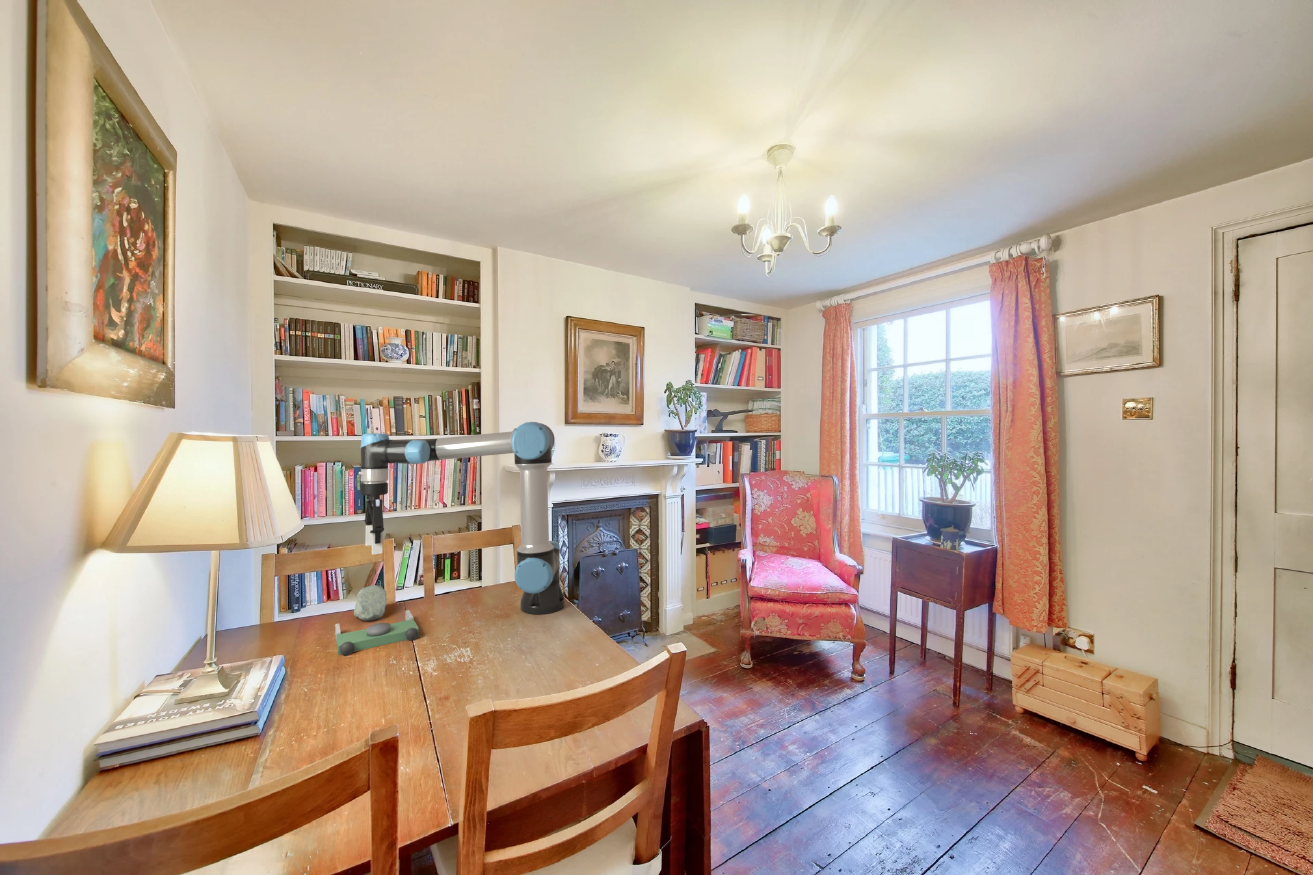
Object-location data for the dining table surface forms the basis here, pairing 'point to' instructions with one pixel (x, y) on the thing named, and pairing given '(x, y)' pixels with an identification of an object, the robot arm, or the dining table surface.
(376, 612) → the decorative stone
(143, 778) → the dining table surface
